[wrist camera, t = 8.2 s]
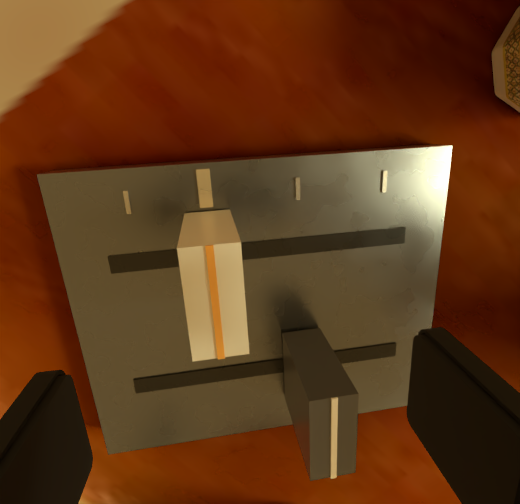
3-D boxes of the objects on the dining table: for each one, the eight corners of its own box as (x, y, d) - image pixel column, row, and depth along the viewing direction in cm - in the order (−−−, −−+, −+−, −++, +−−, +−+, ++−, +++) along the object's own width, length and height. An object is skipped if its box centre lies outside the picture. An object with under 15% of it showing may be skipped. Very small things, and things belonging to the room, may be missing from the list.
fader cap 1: (229, 209, 19) (241, 242, 14) (236, 293, 21) (249, 355, 15) (184, 213, 19) (176, 249, 13) (195, 298, 21) (192, 363, 15)
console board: (431, 144, 22) (454, 145, 20) (408, 384, 28) (424, 404, 26) (52, 170, 19) (35, 174, 17) (115, 430, 25) (107, 456, 23)
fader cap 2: (319, 327, 23) (359, 395, 17) (319, 392, 24) (356, 474, 18) (282, 332, 22) (309, 403, 17) (285, 398, 24) (310, 482, 18)
